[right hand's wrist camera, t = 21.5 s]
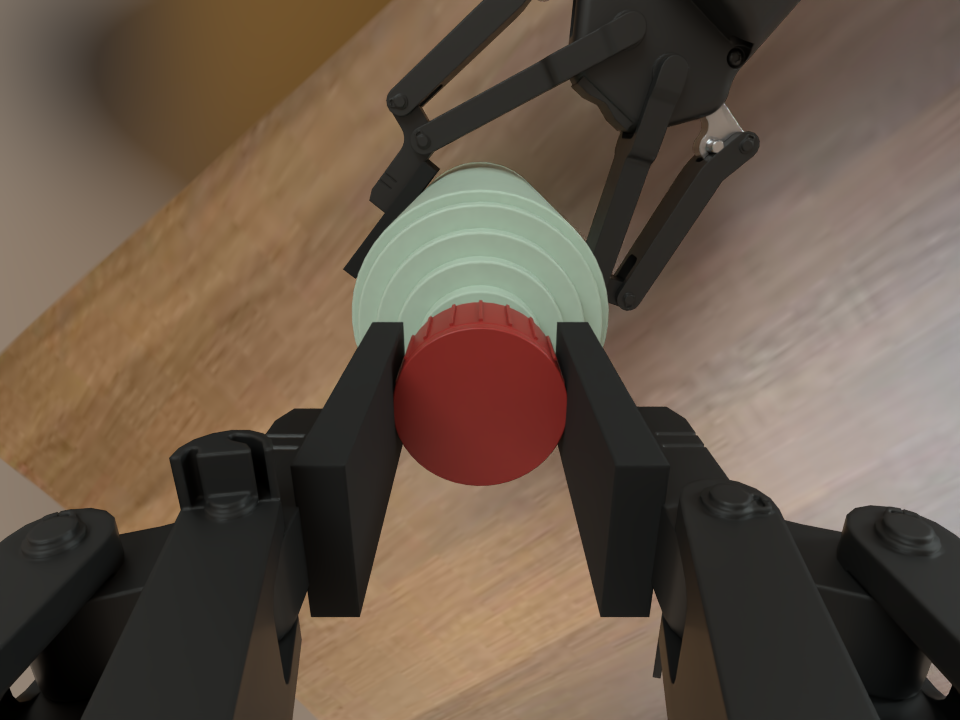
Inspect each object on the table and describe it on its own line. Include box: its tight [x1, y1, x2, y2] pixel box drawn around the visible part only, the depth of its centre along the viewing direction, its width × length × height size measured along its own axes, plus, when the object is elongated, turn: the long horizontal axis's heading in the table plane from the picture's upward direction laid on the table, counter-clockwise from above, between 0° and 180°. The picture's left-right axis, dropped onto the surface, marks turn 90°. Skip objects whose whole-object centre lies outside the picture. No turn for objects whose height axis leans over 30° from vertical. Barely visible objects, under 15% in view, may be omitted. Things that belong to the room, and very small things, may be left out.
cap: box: [393, 300, 567, 486], centre depth 13 cm, size 4×4×2 cm
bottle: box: [352, 162, 608, 353], centre depth 24 cm, size 8×8×24 cm
